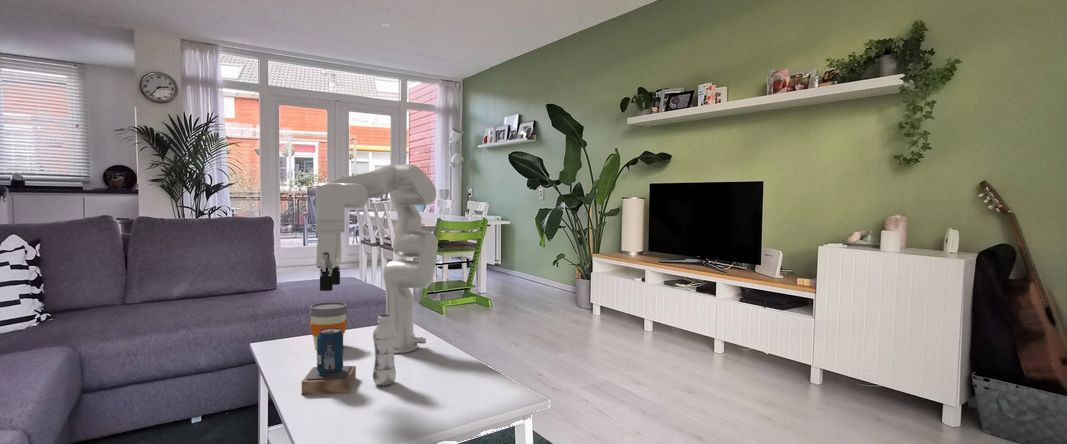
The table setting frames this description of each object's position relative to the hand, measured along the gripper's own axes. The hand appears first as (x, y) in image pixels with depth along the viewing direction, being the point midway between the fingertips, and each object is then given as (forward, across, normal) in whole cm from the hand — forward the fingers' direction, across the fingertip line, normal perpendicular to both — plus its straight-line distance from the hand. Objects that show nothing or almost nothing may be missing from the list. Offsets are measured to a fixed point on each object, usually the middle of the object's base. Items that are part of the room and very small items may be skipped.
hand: (330, 287), depth 145 cm
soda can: (+24, 0, 0) cm, 24 cm away
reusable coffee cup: (+28, -39, -9) cm, 49 cm away
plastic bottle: (+28, 0, +15) cm, 32 cm away
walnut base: (+28, 0, 0) cm, 28 cm away
